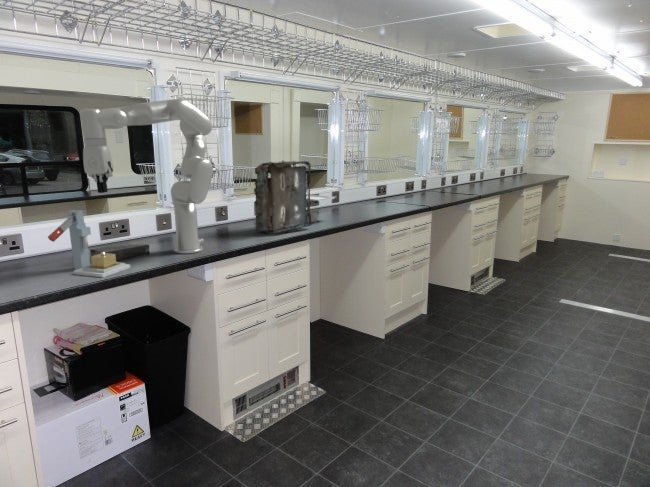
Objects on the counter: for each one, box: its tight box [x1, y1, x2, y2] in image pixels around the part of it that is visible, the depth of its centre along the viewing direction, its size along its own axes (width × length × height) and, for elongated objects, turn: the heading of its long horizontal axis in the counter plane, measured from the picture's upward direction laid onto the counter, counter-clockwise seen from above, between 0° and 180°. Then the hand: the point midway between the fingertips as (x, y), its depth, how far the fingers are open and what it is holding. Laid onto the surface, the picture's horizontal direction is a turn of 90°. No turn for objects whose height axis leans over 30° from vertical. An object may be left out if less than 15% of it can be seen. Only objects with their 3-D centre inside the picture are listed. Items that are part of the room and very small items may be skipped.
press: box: [67, 209, 131, 278], centre depth 173 cm, size 14×19×23 cm
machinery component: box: [253, 160, 312, 235], centre depth 245 cm, size 33×18×38 cm, turn 133°
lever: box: [47, 213, 76, 243], centre depth 169 cm, size 15×3×3 cm, turn 161°
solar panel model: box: [306, 193, 336, 223], centre depth 279 cm, size 28×17×15 cm, turn 53°
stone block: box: [89, 242, 150, 262], centre depth 196 cm, size 14×20×5 cm
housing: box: [90, 252, 117, 270], centre depth 174 cm, size 6×6×6 cm
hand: (102, 192), depth 173 cm, fingers closed
